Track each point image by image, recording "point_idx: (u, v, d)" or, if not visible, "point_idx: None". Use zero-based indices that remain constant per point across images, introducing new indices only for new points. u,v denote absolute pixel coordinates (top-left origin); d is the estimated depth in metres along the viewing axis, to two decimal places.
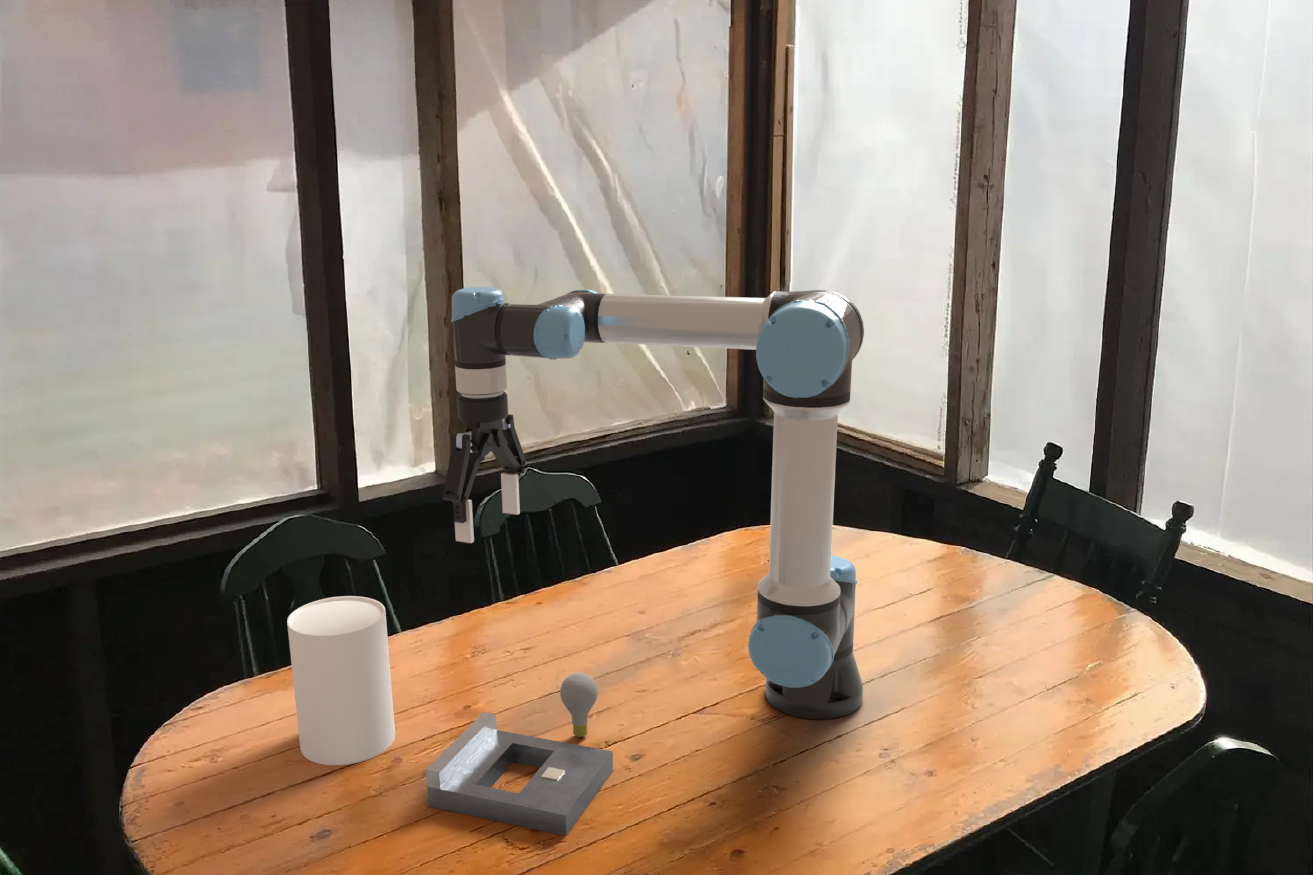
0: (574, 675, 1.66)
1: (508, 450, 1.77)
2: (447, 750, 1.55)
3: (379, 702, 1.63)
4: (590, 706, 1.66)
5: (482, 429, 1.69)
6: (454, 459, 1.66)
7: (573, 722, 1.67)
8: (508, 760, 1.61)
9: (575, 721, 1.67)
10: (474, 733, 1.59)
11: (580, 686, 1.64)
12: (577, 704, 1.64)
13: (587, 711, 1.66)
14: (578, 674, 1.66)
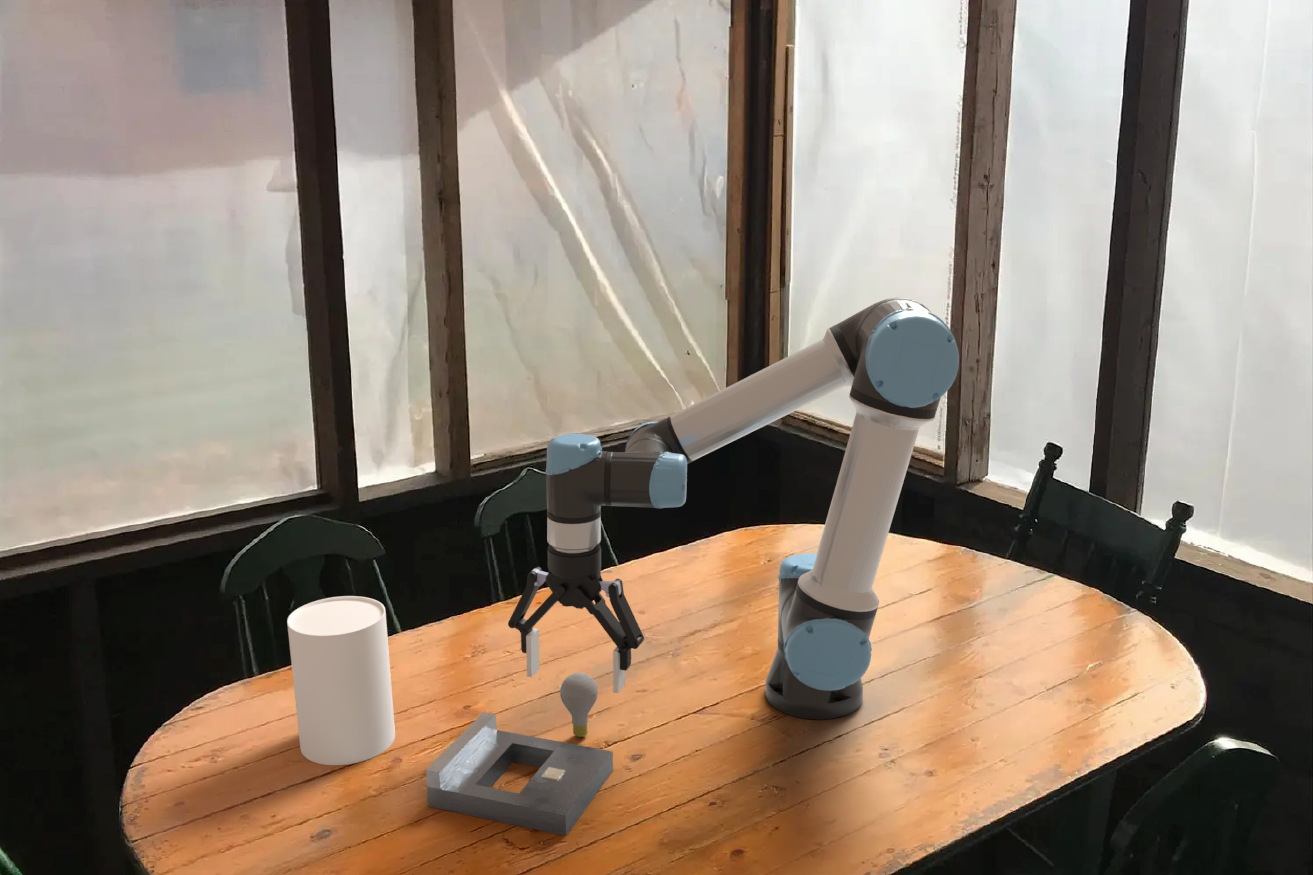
0: (574, 675, 1.66)
1: (603, 619, 1.61)
2: (447, 750, 1.55)
3: (379, 702, 1.63)
4: (590, 706, 1.66)
5: (557, 578, 1.62)
6: None
7: (573, 722, 1.67)
8: (508, 760, 1.61)
9: (575, 721, 1.67)
10: (474, 733, 1.59)
11: (580, 686, 1.64)
12: (577, 704, 1.64)
13: (587, 711, 1.66)
14: (578, 674, 1.66)
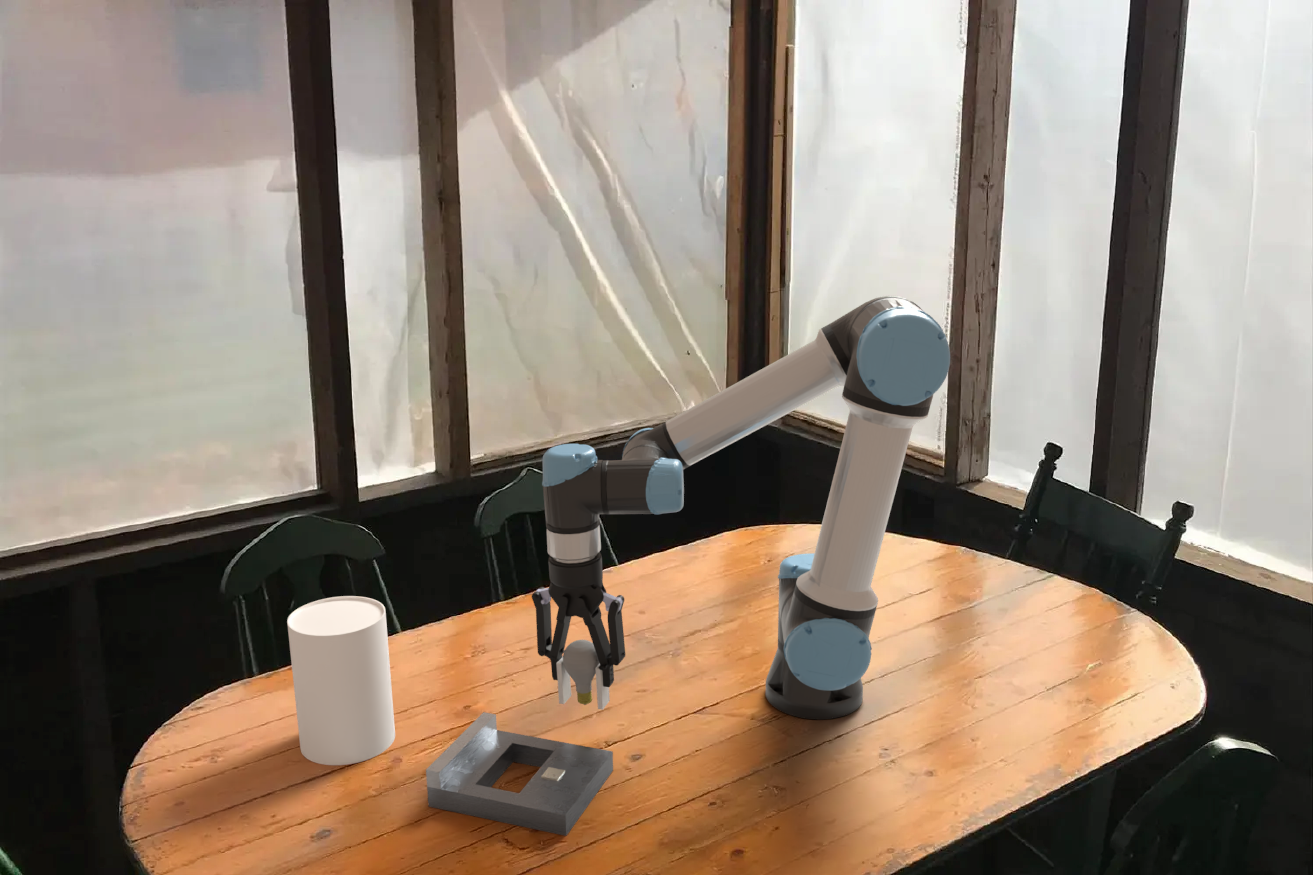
0: (576, 642, 1.65)
1: (595, 634, 1.62)
2: (447, 750, 1.55)
3: (379, 702, 1.63)
4: (593, 672, 1.64)
5: (557, 586, 1.62)
6: None
7: (577, 690, 1.66)
8: (508, 760, 1.61)
9: (579, 688, 1.65)
10: (474, 733, 1.59)
11: (583, 652, 1.63)
12: (580, 670, 1.63)
13: (590, 678, 1.65)
14: (580, 641, 1.65)
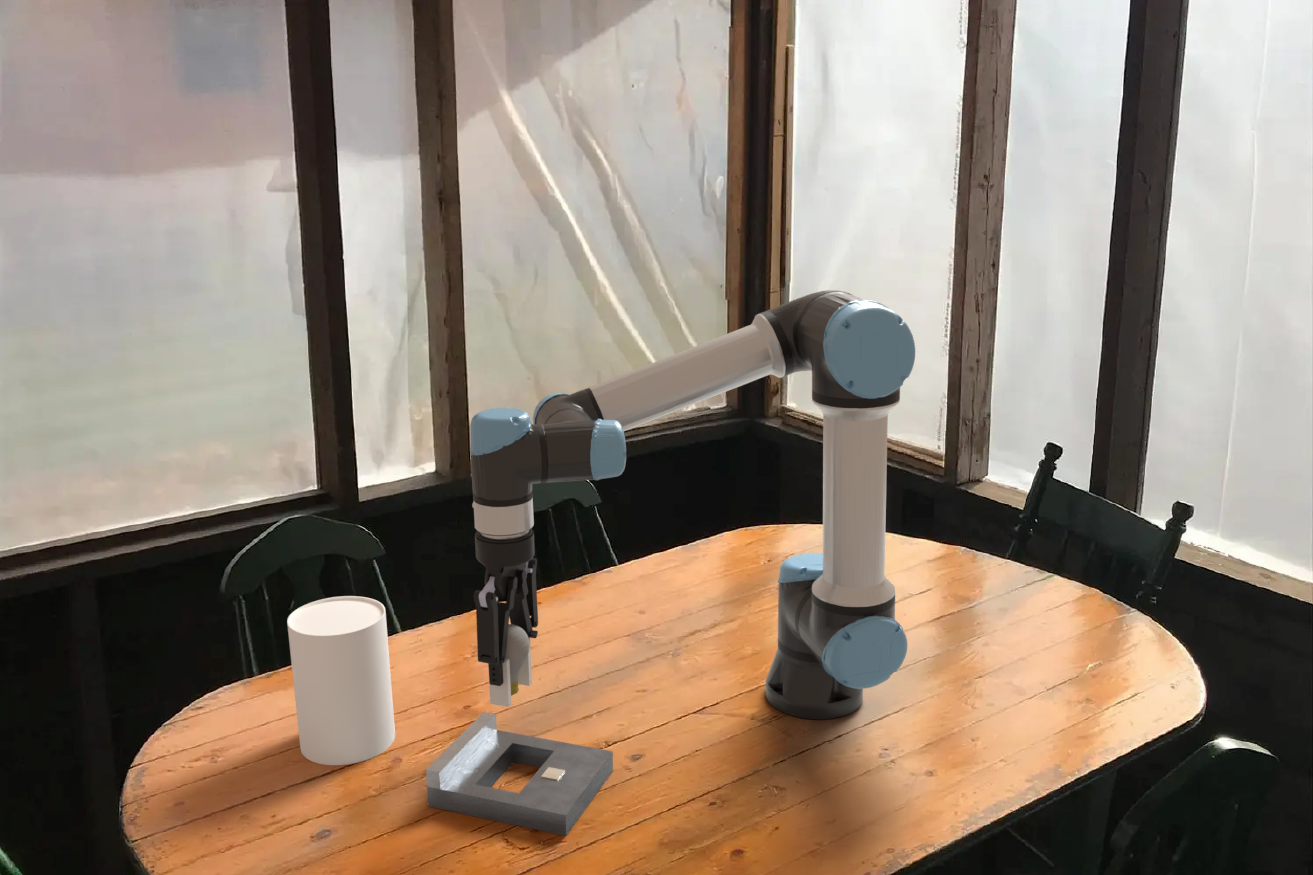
0: None
1: (526, 604, 1.51)
2: (447, 750, 1.55)
3: (379, 702, 1.63)
4: None
5: (504, 572, 1.45)
6: (481, 620, 1.43)
7: (514, 679, 1.51)
8: (508, 760, 1.61)
9: (516, 676, 1.51)
10: (474, 733, 1.59)
11: (523, 630, 1.50)
12: None
13: None
14: None
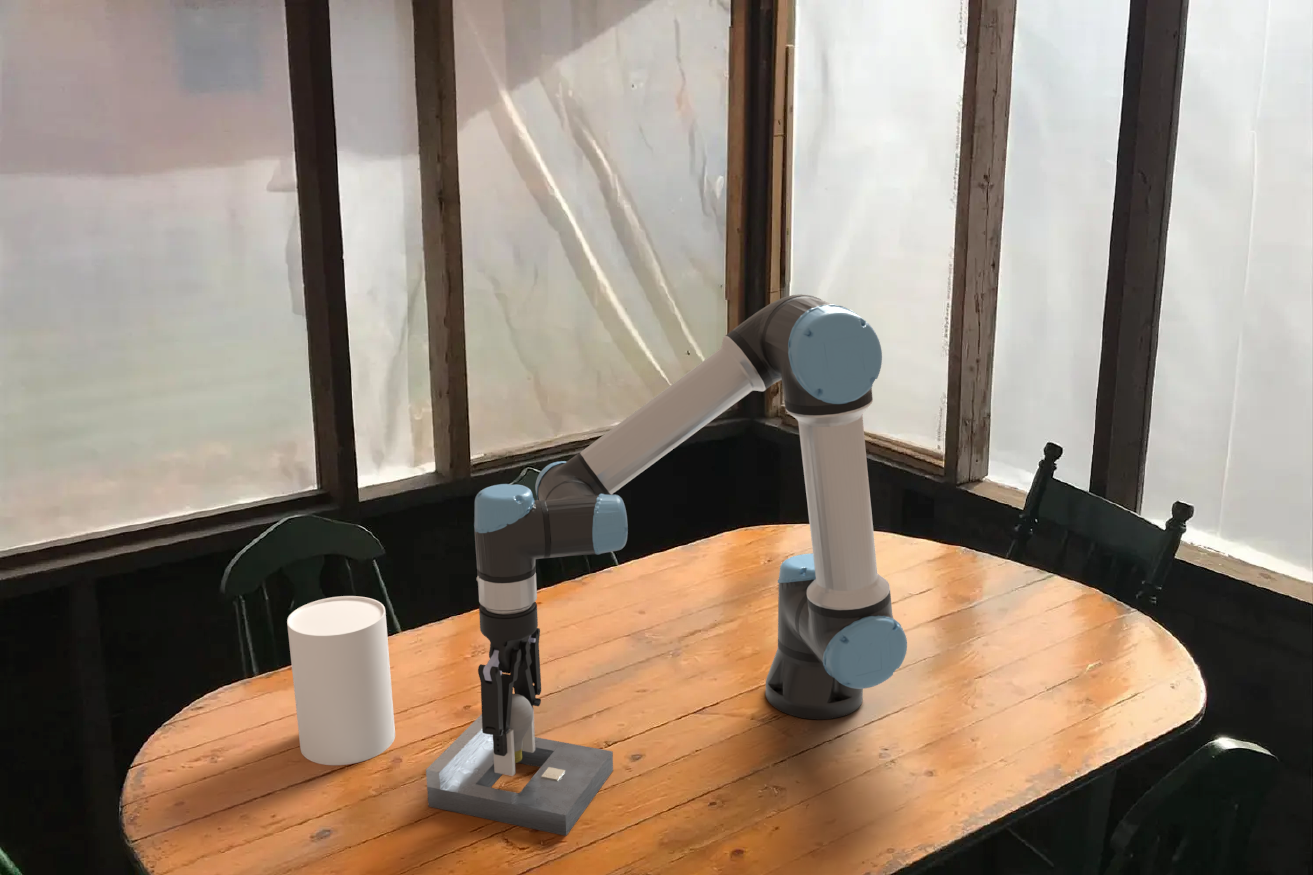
0: None
1: (529, 673, 1.54)
2: (447, 750, 1.55)
3: (379, 702, 1.63)
4: None
5: (508, 645, 1.47)
6: (486, 693, 1.46)
7: (518, 748, 1.53)
8: None
9: (520, 745, 1.54)
10: (474, 733, 1.59)
11: (526, 699, 1.53)
12: (532, 718, 1.53)
13: None
14: None
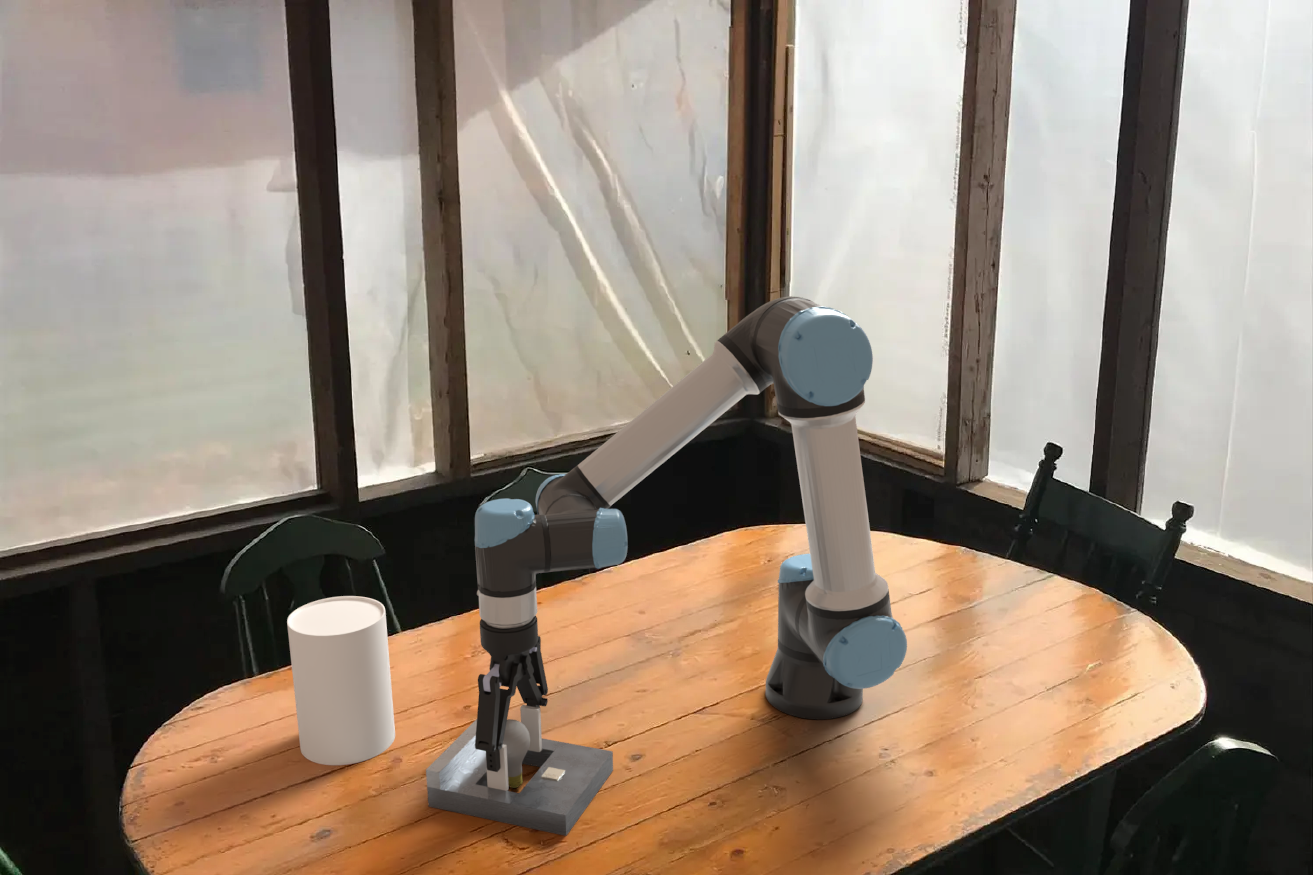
0: (506, 725, 1.52)
1: (533, 680, 1.55)
2: (447, 750, 1.55)
3: (379, 702, 1.63)
4: None
5: (509, 659, 1.48)
6: (483, 704, 1.45)
7: (517, 773, 1.54)
8: None
9: (519, 769, 1.54)
10: (474, 733, 1.59)
11: (522, 724, 1.54)
12: (529, 742, 1.54)
13: None
14: None
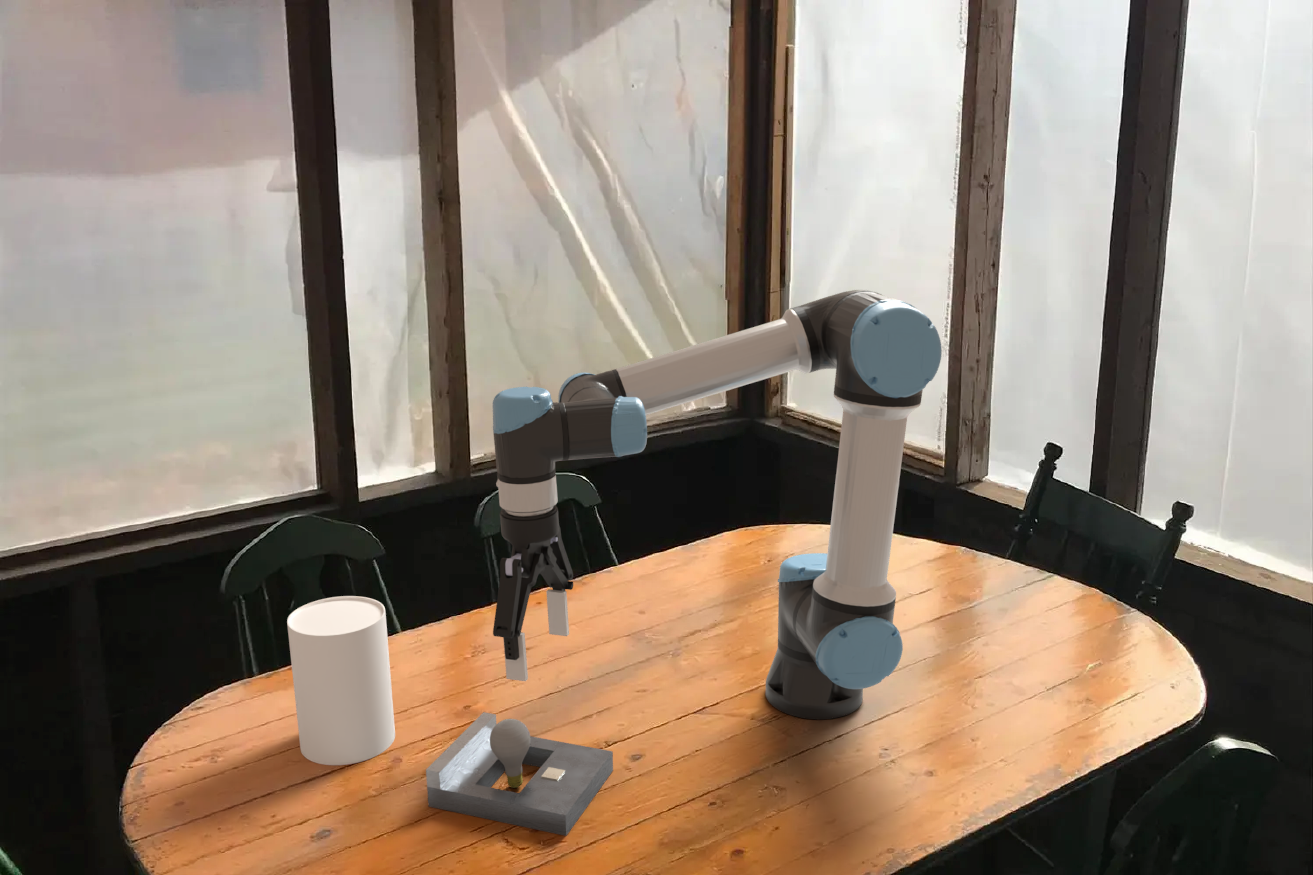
0: (507, 724, 1.53)
1: (557, 567, 1.55)
2: (447, 750, 1.55)
3: (379, 702, 1.63)
4: None
5: (532, 549, 1.47)
6: (504, 588, 1.44)
7: (518, 772, 1.54)
8: None
9: (520, 769, 1.54)
10: (474, 733, 1.59)
11: (522, 723, 1.54)
12: None
13: None
14: (506, 721, 1.53)
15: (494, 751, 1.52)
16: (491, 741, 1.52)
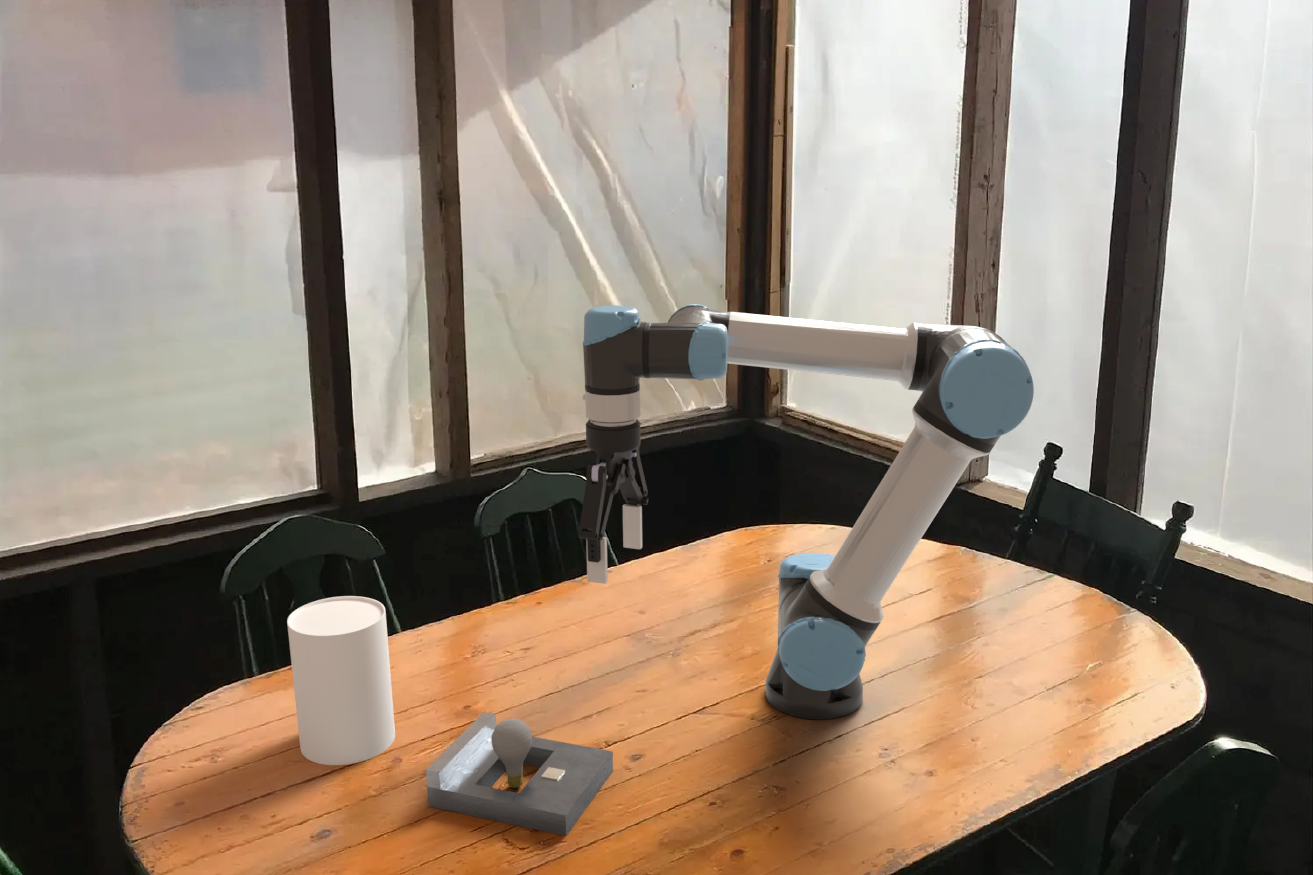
0: (510, 723, 1.53)
1: (634, 481, 1.64)
2: (447, 750, 1.55)
3: (379, 702, 1.63)
4: None
5: (615, 460, 1.56)
6: (589, 493, 1.52)
7: (518, 772, 1.54)
8: None
9: (520, 769, 1.55)
10: (474, 733, 1.59)
11: None
12: (531, 742, 1.54)
13: None
14: (509, 721, 1.53)
15: (496, 750, 1.52)
16: (493, 741, 1.52)
